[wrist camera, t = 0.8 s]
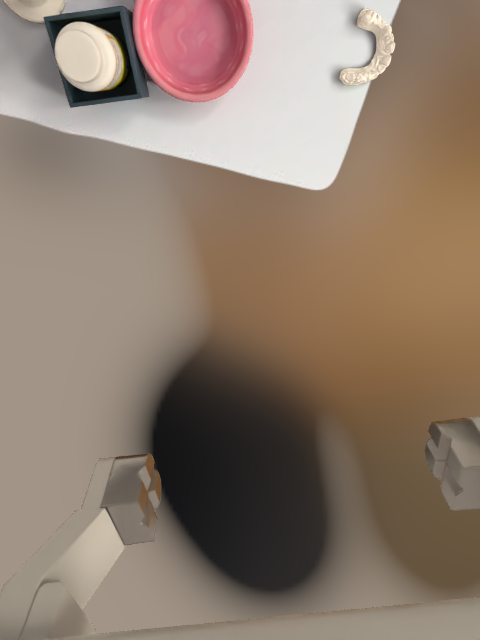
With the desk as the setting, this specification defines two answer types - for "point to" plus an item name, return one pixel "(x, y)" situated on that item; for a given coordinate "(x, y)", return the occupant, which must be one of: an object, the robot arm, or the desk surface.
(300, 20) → the desk surface
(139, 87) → the tub
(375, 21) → the dentures
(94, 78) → the supplement bottle
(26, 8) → the candle
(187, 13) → the saucer
